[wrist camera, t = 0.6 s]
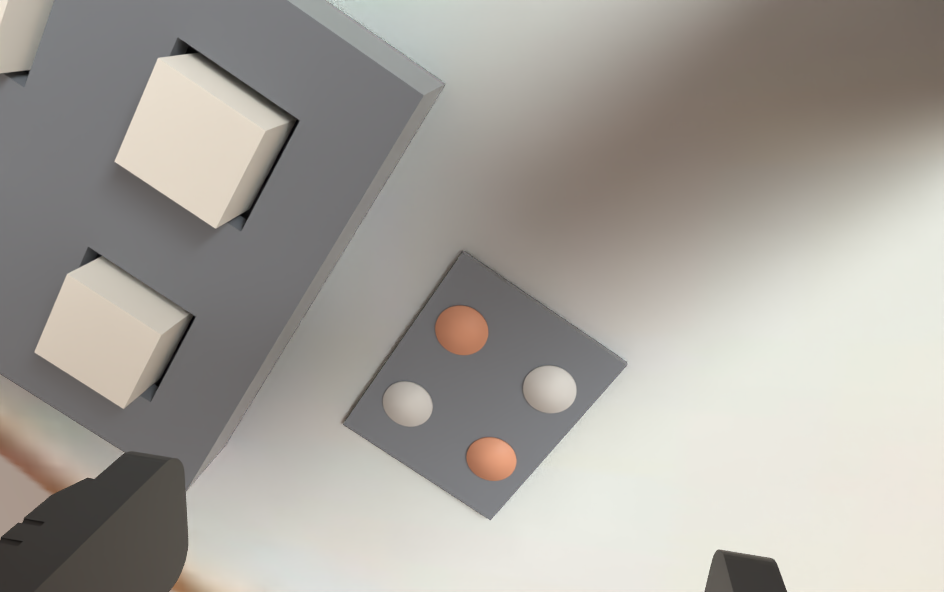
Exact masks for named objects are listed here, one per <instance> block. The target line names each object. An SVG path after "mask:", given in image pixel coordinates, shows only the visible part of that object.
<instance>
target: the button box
mask: <svg viewBox="0 0 944 592" xmlns="http://www.w3.org/2000/svg"><path fill="white" fill-rule="evenodd" d="M192 53H201V54H203V55H204V56H206V57H207V58H209V59H210V60H212V61H213V62H215V63H216V64H218V65H219V66H220V67H222V68H223V69H225V70H226V71H228V72H229V73H231V74H232V75H234V76H235V77H237V78H238V79H240V80H241V81H242V82H244V83H245V84H247V85H248V86H250V87H251V88H253V89H254V90H256V91H257V92H259V93H260V94H261V95H263V96H264V97H266V98H267V99H269V100H270V101H272V102H273V103H275V104H276V105H278V106H279V107H281V108H282V109H283V110H285V111H286V112H288V113H289V114H291V115H292V116H294V117H295V118H297V120H296V122H295V124H294V126H293V128H292V130H291V132H290V133H289V135H288V137H287V139H286V141H285V143H284V145H283V147H282V149H281V150H280V152H279V154H278V156H277V158H276V160H275V162H274V164H273V166H272V168H271V169H270V171H269V173H268V175H267V177H266V179H265V181H264V183H263V185H262V187H261V188H260V190H259V192H258V194H257V196H256V198H255V200H254V202H253V204H252V205H251V207H250V209H249V210H247V211H245V212H244V213H242V214H240V215H238V216H237V217H235V218H233V219H232V220H230V221H228V222H226V223H225V224H223V225H221V226H220V227H218V228H216V229H215V228H214V227H212V226H211V225H209V224H208V223H206V222H205V221H203V220H202V219H200V218H199V217H197V216H196V215H194V214H193V213H191V212H190V211H188V210H187V209H185V208H184V207H182V206H181V205H179V204H178V203H176V202H175V201H173V200H172V199H170V198H169V197H167V196H166V195H164V194H163V193H161V192H160V191H158V190H156V189H155V188H153V187H152V186H150V185H149V184H147V183H146V182H144V181H143V180H141V179H140V178H138V177H137V176H135V175H134V174H132V173H131V172H129V171H128V170H126V169H125V168H123V167H122V166H120V165H119V164H117V163H116V162H114V161H115V159H116V157H117V154H118V152H119V149H120V147H121V145H122V142H123V140H124V138H125V135H126V133H127V130H128V128H129V126H130V123H131V121H132V119H133V116H134V114H135V111H136V109H137V107H138V104H139V102H140V100H141V97H142V95H143V92H144V90H145V88H146V85H147V83H148V81H149V78H150V76H151V73H152V71H153V69H154V66H155V64H156V62H157V59H158V58H161V57H168V56H176V55H184V54H192ZM444 86H445V83H444V82H442V81H441V80H439V79H438V78H436V77H435V76H434V75H432V74H431V73H429V72H428V71H426V70H425V69H424V68H422V67H421V66H419V65H418V64H416V63H415V62H414V61H412V60H411V59H409V58H408V57H406V56H405V55H404V54H402V53H401V52H399V51H398V50H396V49H395V48H394V47H392V46H391V45H389V44H388V43H386V42H385V41H384V40H382V39H381V38H379V37H378V36H376V35H375V34H373V33H372V32H371V31H369V30H368V29H366V28H365V27H363V26H362V25H361V24H359V23H358V22H356V21H355V20H353V19H352V18H351V17H349V16H348V15H346V14H345V13H343V12H342V11H341V10H339V9H338V8H336V7H335V6H333V5H332V4H331V3H329V2H328V1H326V0H54V2H53V5H52V8H51V11H50V14H49V17H48V20H47V23H46V26H45V29H44V32H43V34H42V37H41V40H40V43H39V46H38V49H37V52H36V55H35V58H34V61H33V64H32V66H31V69H30V70H24V71H16V72H8V73H0V374H1V375H3V376H4V377H6V378H7V379H9V380H11V381H12V382H14V383H15V384H17V385H19V386H20V387H22V388H23V389H25V390H27V391H28V392H30V393H31V394H33V395H34V396H36V397H38V398H39V399H41V400H42V401H44V402H46V403H47V404H49V405H50V406H52V407H53V408H55V409H57V410H58V411H60V412H61V413H63V414H65V415H66V416H68V417H69V418H71V419H73V420H74V421H76V422H77V423H79V424H80V425H82V426H84V427H85V428H87V429H88V430H90V431H92V432H93V433H95V434H96V435H98V436H100V437H101V438H103V439H104V440H106V441H107V442H109V443H111V444H112V445H114V446H115V447H117V448H119V449H120V450H122V451H123V452H125V453H126V452H129V451H135V452H141V453H147V454H153V455H159V456H165V457H171V458H177V459H179V460H180V461H181V462H182V464H183V467H184V472H185V489H186V491H187V490H188V489H189V487H190V486H191V485H192V484H193V483H194V482H195V480H196V479H197V478H198V477H199V476H200V475H201V473H202V472H203V471H204V470H205V469H206V468H207V466H208V465H209V464H210V463H211V462H212V461H213V459H214V458H215V457H216V456H217V455H218V454H219V452H220V451H221V450H222V449H223V448H224V447H225V445H226V443H227V442H228V440H229V439H230V437H231V435H232V434H233V432H234V430H235V429H236V427H237V425H238V424H239V422H240V421H241V419H242V417H243V416H244V414H245V412H246V411H247V409H248V407H249V406H250V404H251V402H252V401H253V399H254V398H255V396H256V394H257V393H258V391H259V389H260V388H261V386H262V384H263V383H264V381H265V380H266V378H267V376H268V375H269V373H270V371H271V370H272V368H273V366H274V365H275V363H276V361H277V360H278V358H279V357H280V355H281V353H282V352H283V350H284V348H285V347H286V345H287V343H288V342H289V340H290V339H291V337H292V335H293V334H294V332H295V330H296V329H297V327H298V325H299V324H300V322H301V320H302V319H303V317H304V316H305V314H306V312H307V311H308V309H309V307H310V306H311V304H312V302H313V301H314V299H315V298H316V296H317V294H318V293H319V291H320V289H321V288H322V286H323V284H324V283H325V281H326V279H327V278H328V276H329V275H330V273H331V271H332V270H333V268H334V266H335V265H336V263H337V261H338V260H339V258H340V256H341V255H342V253H343V252H344V250H345V248H346V247H347V245H348V243H349V242H350V240H351V238H352V237H353V235H354V234H355V232H356V230H357V229H358V227H359V225H360V224H361V222H362V220H363V219H364V217H365V215H366V214H367V212H368V211H369V209H370V207H371V206H372V204H373V202H374V201H375V199H376V197H377V196H378V194H379V193H380V191H381V189H382V188H383V186H384V184H385V183H386V181H387V179H388V178H389V176H390V174H391V173H392V171H393V170H394V168H395V166H396V165H397V163H398V161H399V160H400V158H401V156H402V155H403V153H404V152H405V150H406V148H407V147H408V145H409V143H410V142H411V140H412V138H413V137H414V135H415V133H416V132H417V130H418V129H419V127H420V125H421V124H422V122H423V120H424V119H425V117H426V115H427V114H428V112H429V110H430V109H431V107H432V106H433V104H434V102H435V101H436V99H437V97H438V96H439V94H440V92H441V91H442V89H443V88H444ZM101 256H103V257H105V258H106V259H108V260H109V261H111V262H113V263H114V264H116V265H117V266H119V267H120V268H122V269H123V270H125V271H126V272H128V273H129V274H131V275H132V276H134V277H136V278H137V279H139V280H140V281H142V282H143V283H145V284H146V285H148V286H149V287H151V288H152V289H154V290H156V291H157V292H159V293H160V294H162V295H163V296H165V297H166V298H168V299H169V300H171V301H172V302H174V303H175V304H177V305H179V306H180V307H182V308H183V309H185V310H186V311H188V312H189V313H191V314H192V315H193V317H192V319H191V321H190V323H189V325H188V327H187V329H186V331H185V333H184V334H183V336H182V338H181V340H180V342H179V344H178V346H177V348H176V350H175V352H174V353H173V355H172V357H171V359H170V361H169V363H168V365H167V367H166V369H165V370H164V372H163V374H162V376H161V378H160V379H159V380H157V381H156V382H155V383H154V384H153V385H151V386H150V387H149V388H148V389H147V390H146V391H144V392H143V393H142V394H141V395H140V396H138V397H137V398H136V399H135V400H134V401H132V402H131V403H130V404H129V405H128V406H127V407H125V408H124V409H123V408H121V407H120V406H118V405H116V404H115V403H113V402H112V401H110V400H109V399H107V398H105V397H104V396H102V395H101V394H99V393H98V392H96V391H94V390H93V389H91V388H90V387H88V386H87V385H85V384H83V383H82V382H80V381H79V380H77V379H76V378H74V377H72V376H71V375H69V374H68V373H66V372H65V371H63V370H61V369H60V368H58V367H57V366H55V365H54V364H52V363H50V362H49V361H47V360H46V359H44V358H42V357H41V356H39V355H38V354H36V353H35V349H36V347H37V344H38V342H39V340H40V337H41V335H42V332H43V330H44V328H45V325H46V323H47V321H48V318H49V316H50V313H51V311H52V309H53V306H54V304H55V302H56V299H57V297H58V294H59V292H60V290H61V287H62V285H63V283H64V280H65V278H66V275H67V274H68V273H70V272H72V271H74V270H76V269H78V268H80V267H82V266H84V265H86V264H88V263H90V262H92V261H93V260H95V259H97V258H99V257H101Z"/></svg>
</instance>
